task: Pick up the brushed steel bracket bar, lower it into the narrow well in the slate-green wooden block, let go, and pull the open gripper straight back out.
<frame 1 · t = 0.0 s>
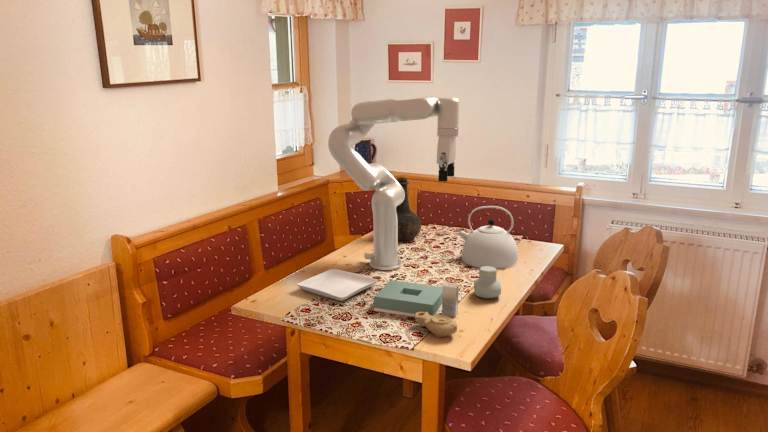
hand: (446, 178, 231), 37 cm above the table, tool pointing down, fingers open, 9 cm apart
air freshener: (486, 296, 218), on the table
oil lamp: (434, 332, 190), on the table
dark vase: (401, 238, 284), on the table
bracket: (449, 314, 203), on the table
kettle: (486, 259, 256), on the table
salad plate: (337, 290, 224), on the table
well block: (410, 305, 209), on the table
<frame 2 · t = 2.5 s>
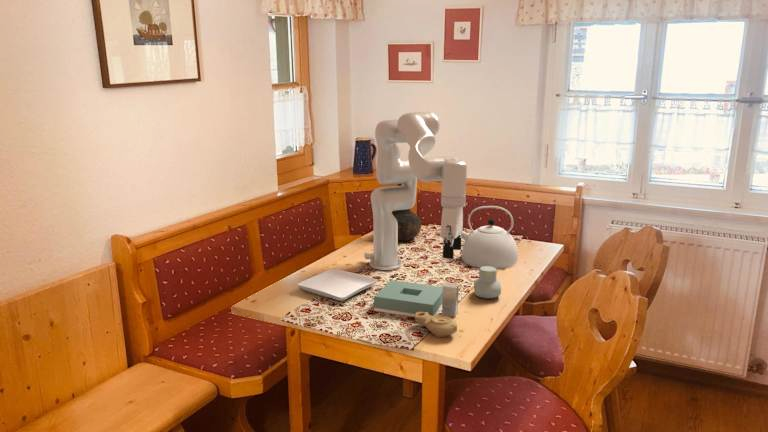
hand: (452, 253, 197), 21 cm above the table, tool pointing down, fingers open, 9 cm apart
nothing on the table moved.
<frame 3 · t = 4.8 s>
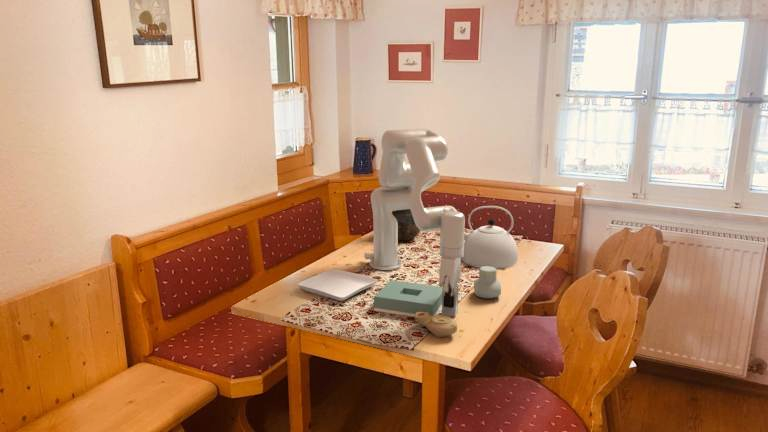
hand: (450, 304, 202), 3 cm above the table, tool pointing down, fingers closed on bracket, 3 cm apart
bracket: (449, 314, 203), on the table, touching gripper
everything else where it was.
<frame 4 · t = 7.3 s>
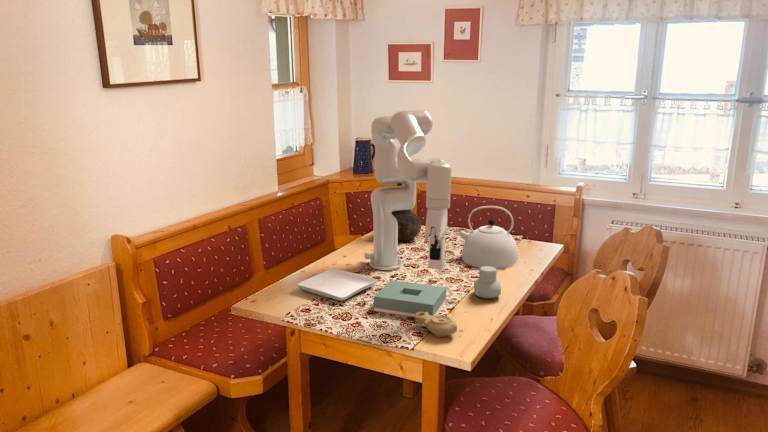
hand: (436, 257, 201), 18 cm above the table, tool pointing down, fingers closed on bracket, 3 cm apart
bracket: (436, 267, 201), point 15 cm above the table, touching gripper
everything else where it was.
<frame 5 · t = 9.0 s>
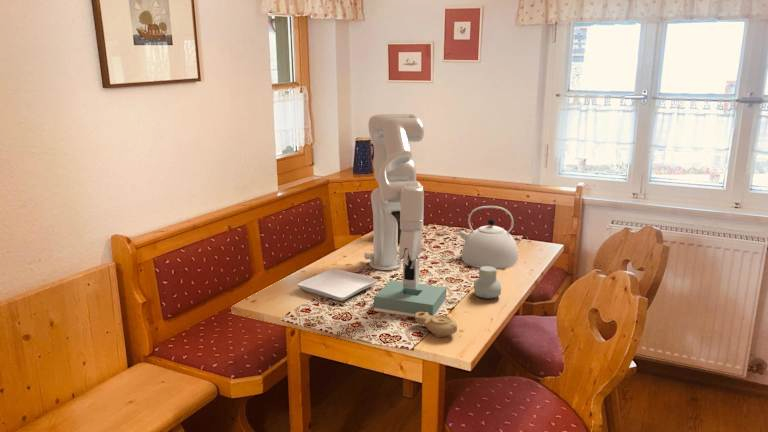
hand: (410, 277, 207), 10 cm above the table, tool pointing down, fingers closed on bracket, 3 cm apart
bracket: (410, 286, 208), point 7 cm above the table, touching gripper
everything else where it was.
when the fingers open (6 cm above the table, at t = 10.2 s): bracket drops 1 cm, resting on well block.
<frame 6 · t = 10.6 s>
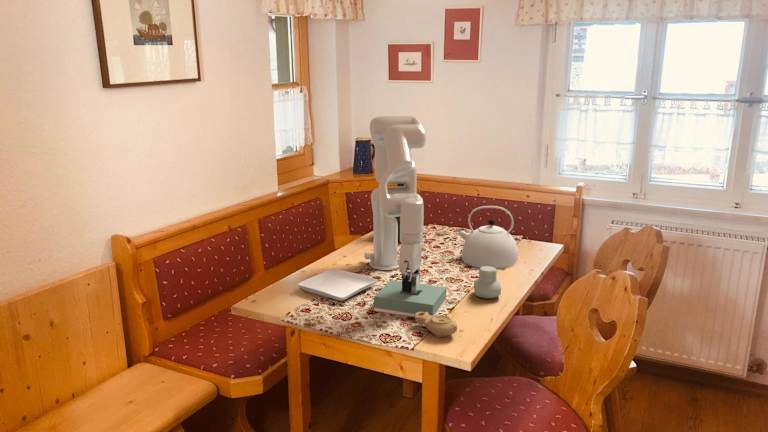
hand: (410, 287, 208), 7 cm above the table, tool pointing down, fingers open, 7 cm apart
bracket: (410, 302, 209), point 1 cm above the table, touching well block
everything else where it was.
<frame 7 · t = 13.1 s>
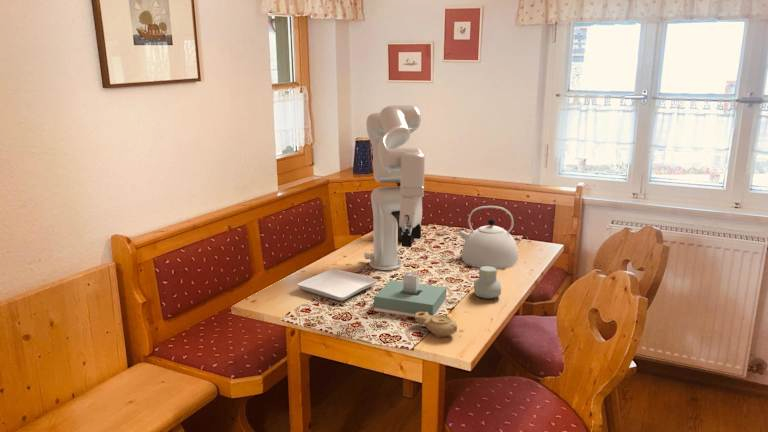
hand: (411, 242, 204), 22 cm above the table, tool pointing down, fingers open, 9 cm apart
nothing on the table moved.
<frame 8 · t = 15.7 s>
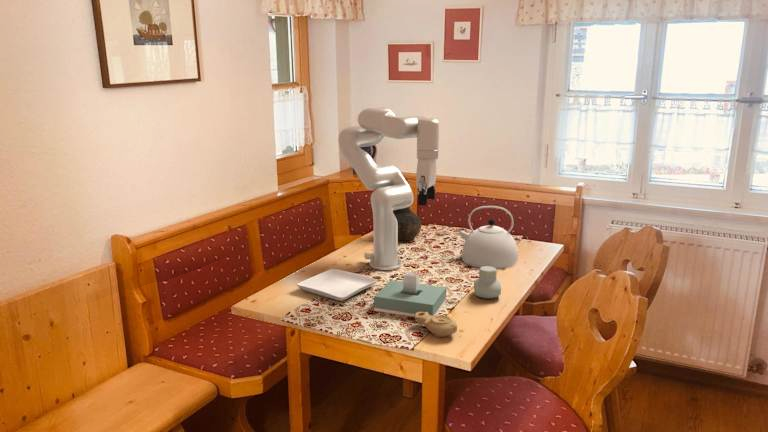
hand: (426, 202, 223), 30 cm above the table, tool pointing down, fingers open, 9 cm apart
nothing on the table moved.
at the end: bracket 0.2 cm off-centre on the well block, point 1.0 cm above the well block's base; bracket tilted 0°; the gripper is holding nothing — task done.
